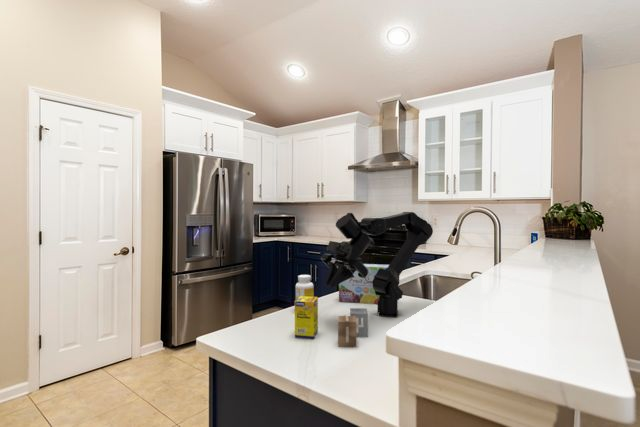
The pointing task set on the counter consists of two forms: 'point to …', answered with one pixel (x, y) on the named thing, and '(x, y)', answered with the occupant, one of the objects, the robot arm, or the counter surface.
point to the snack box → (360, 287)
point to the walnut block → (346, 331)
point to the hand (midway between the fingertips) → (328, 286)
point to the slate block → (360, 321)
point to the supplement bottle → (304, 286)
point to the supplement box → (306, 317)
